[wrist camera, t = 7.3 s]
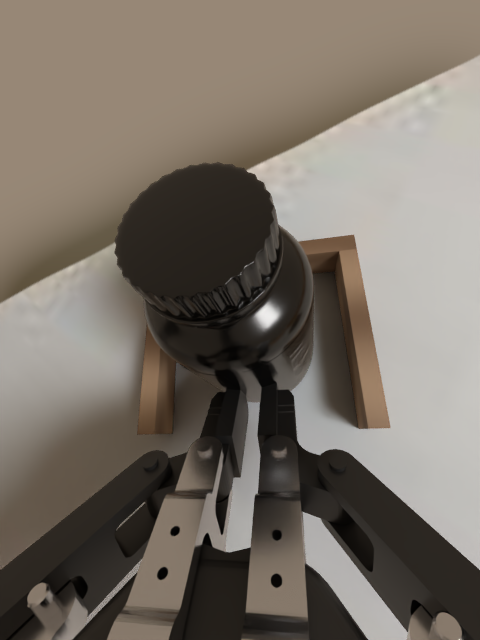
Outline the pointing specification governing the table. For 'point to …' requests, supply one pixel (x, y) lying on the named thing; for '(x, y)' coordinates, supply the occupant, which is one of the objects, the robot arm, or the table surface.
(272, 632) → the robot arm
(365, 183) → the table surface
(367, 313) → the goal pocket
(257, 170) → the table surface
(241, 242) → the supplement bottle
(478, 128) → the table surface
